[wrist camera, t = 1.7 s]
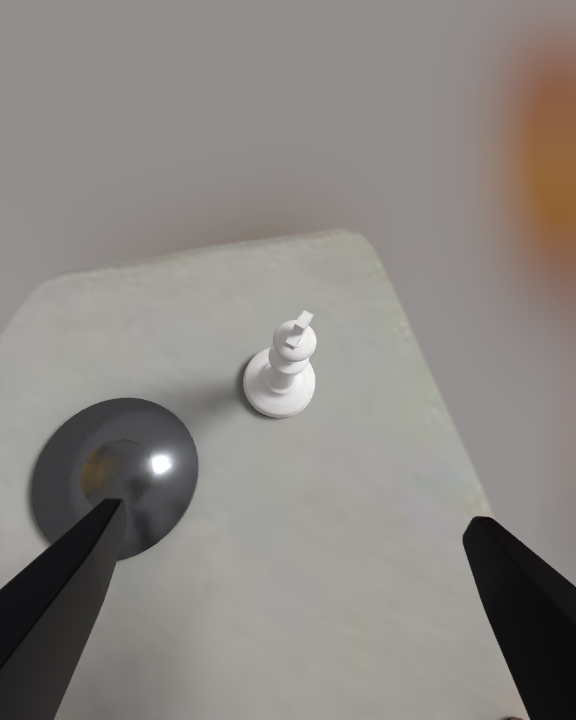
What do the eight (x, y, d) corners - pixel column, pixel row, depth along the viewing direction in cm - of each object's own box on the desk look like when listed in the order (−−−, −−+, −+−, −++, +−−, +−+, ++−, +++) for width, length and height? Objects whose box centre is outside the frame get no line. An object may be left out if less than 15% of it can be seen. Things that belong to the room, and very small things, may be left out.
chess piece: (229, 394, 22) (215, 341, 12) (266, 336, 23) (278, 249, 14) (293, 431, 22) (329, 405, 12) (326, 370, 23) (380, 304, 14)
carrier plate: (199, 547, 19) (197, 550, 18) (28, 570, 18) (21, 573, 17) (197, 394, 22) (196, 392, 21) (48, 405, 20) (42, 403, 20)
